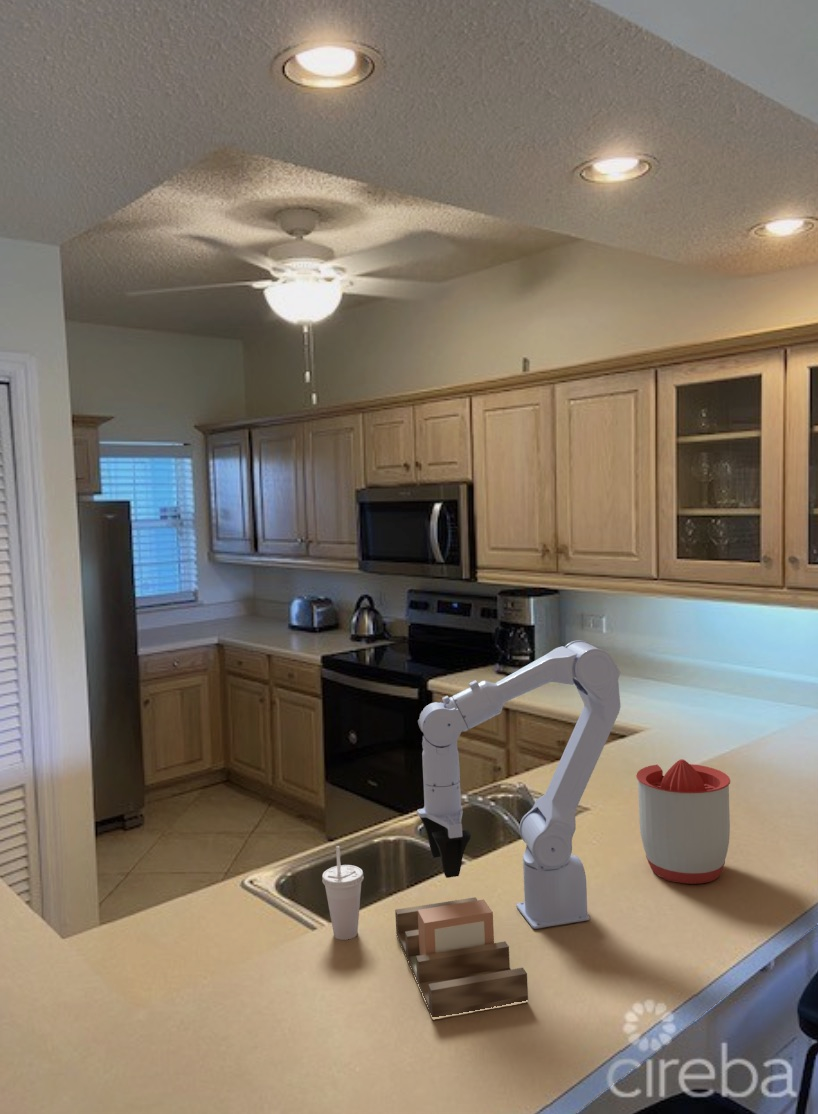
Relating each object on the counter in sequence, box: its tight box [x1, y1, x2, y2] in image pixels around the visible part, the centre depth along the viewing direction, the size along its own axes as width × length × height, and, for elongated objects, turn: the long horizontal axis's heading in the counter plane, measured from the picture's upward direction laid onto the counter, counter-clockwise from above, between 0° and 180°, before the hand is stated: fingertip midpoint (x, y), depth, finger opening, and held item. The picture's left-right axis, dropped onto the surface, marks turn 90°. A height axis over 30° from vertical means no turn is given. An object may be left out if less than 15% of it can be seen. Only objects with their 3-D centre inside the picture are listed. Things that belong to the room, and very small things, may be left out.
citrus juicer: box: [635, 758, 731, 885], centre depth 145 cm, size 16×17×20 cm
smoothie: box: [321, 845, 364, 941], centre depth 128 cm, size 6×6×14 cm
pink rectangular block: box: [418, 899, 495, 956], centre depth 118 cm, size 4×10×7 cm, turn 103°
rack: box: [394, 897, 529, 1017], centre depth 118 cm, size 13×22×4 cm, turn 13°
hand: (445, 865), depth 130 cm, fingers open, 7 cm apart
